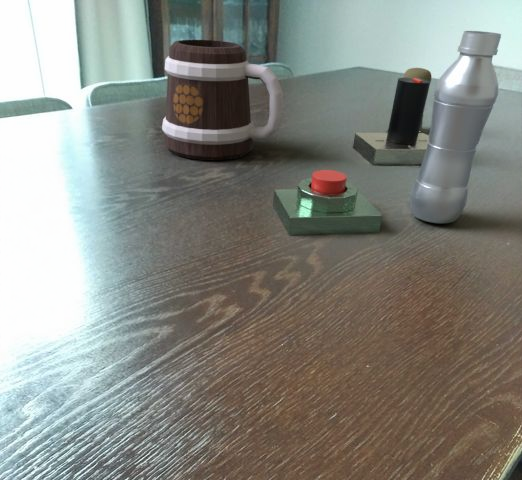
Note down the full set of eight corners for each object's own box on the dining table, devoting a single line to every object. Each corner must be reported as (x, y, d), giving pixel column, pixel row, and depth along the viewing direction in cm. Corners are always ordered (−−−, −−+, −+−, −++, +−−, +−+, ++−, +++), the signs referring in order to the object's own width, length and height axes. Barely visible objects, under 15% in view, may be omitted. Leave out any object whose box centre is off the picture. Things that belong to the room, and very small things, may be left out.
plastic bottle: (463, 232, 60) (525, 38, 47) (406, 226, 60) (453, 32, 48) (455, 213, 65) (510, 32, 53) (403, 207, 65) (445, 27, 53)
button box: (354, 204, 65) (359, 174, 63) (379, 233, 58) (386, 199, 56) (272, 206, 63) (274, 174, 61) (288, 235, 56) (291, 201, 54)
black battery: (382, 136, 85) (393, 74, 79) (409, 136, 85) (422, 75, 80) (393, 144, 81) (406, 80, 75) (421, 144, 82) (436, 81, 76)
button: (338, 184, 60) (340, 169, 59) (349, 195, 57) (351, 180, 56) (307, 184, 60) (308, 169, 59) (316, 196, 57) (317, 181, 56)
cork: (424, 135, 97) (439, 71, 90) (394, 133, 97) (407, 70, 90) (416, 127, 102) (430, 66, 95) (388, 126, 102) (399, 65, 95)
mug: (145, 152, 78) (135, 42, 69) (189, 132, 90) (186, 35, 81) (262, 173, 73) (268, 57, 64) (293, 148, 85) (302, 47, 76)
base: (420, 147, 90) (424, 132, 88) (446, 164, 82) (451, 148, 80) (352, 147, 87) (355, 131, 86) (373, 165, 80) (376, 147, 78)
